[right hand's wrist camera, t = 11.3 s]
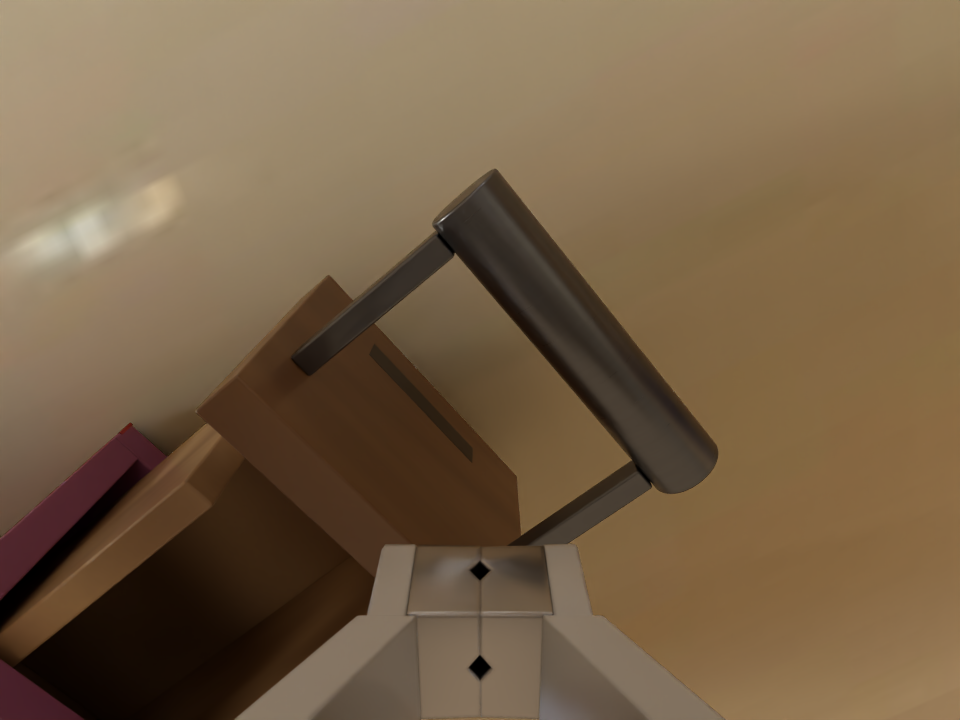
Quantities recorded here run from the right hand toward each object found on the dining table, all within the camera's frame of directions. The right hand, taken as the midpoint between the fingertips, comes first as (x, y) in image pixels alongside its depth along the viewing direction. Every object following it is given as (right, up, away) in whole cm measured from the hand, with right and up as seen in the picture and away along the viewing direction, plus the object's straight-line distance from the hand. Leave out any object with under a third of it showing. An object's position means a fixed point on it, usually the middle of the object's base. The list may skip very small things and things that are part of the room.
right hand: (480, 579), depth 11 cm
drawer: (-6, -1, +12) cm, 14 cm away
